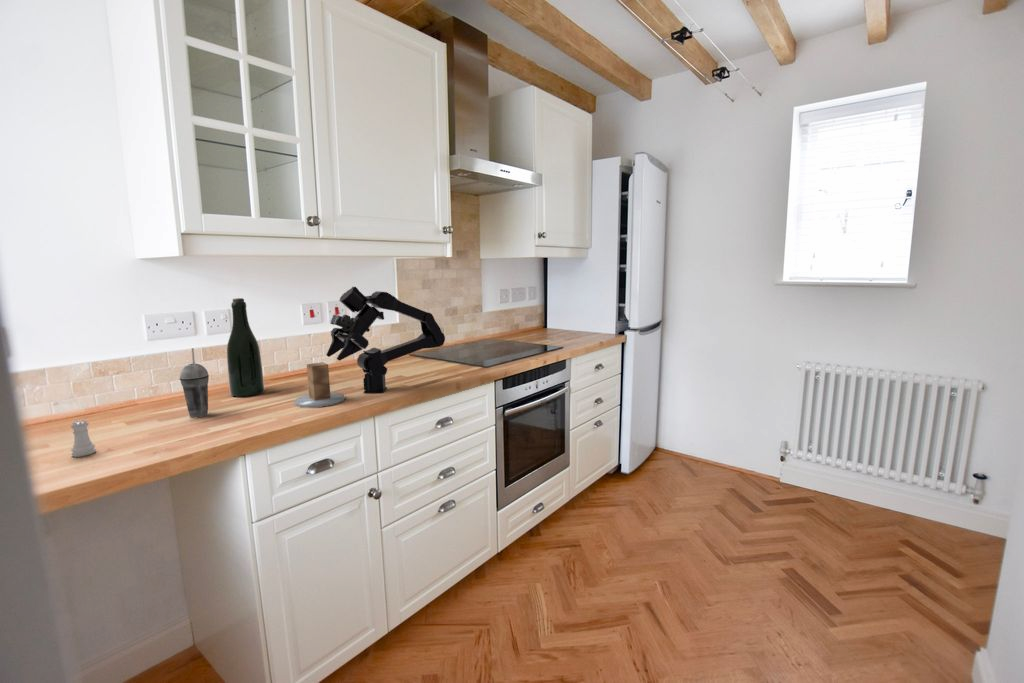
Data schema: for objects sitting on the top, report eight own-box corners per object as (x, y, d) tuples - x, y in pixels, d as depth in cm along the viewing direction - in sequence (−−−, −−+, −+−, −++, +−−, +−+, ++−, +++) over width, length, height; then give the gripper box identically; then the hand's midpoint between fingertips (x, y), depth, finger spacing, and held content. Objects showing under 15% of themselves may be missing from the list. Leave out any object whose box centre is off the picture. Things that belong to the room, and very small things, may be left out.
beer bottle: (238, 390, 174) (229, 297, 169) (269, 389, 175) (260, 297, 170) (224, 398, 164) (213, 299, 159) (257, 397, 165) (247, 298, 160)
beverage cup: (180, 420, 140) (171, 351, 137) (189, 413, 147) (181, 347, 144) (208, 417, 142) (201, 350, 139) (216, 410, 149) (209, 346, 146)
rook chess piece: (84, 450, 118) (79, 418, 117) (101, 450, 118) (96, 418, 116) (66, 457, 114) (60, 424, 112) (83, 457, 113) (78, 424, 112)
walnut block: (324, 394, 162) (322, 362, 160) (330, 397, 158) (328, 364, 156) (309, 397, 158) (306, 364, 157) (314, 400, 155) (312, 366, 153)
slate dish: (351, 395, 165) (351, 391, 165) (333, 407, 150) (333, 404, 150) (308, 395, 166) (307, 391, 166) (285, 408, 151) (285, 404, 151)
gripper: (334, 304, 167) (303, 339, 162) (356, 307, 153) (323, 345, 148) (358, 325, 174) (329, 359, 168) (381, 329, 159) (351, 367, 154)
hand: (332, 357), depth 159 cm, fingers open, 9 cm apart
